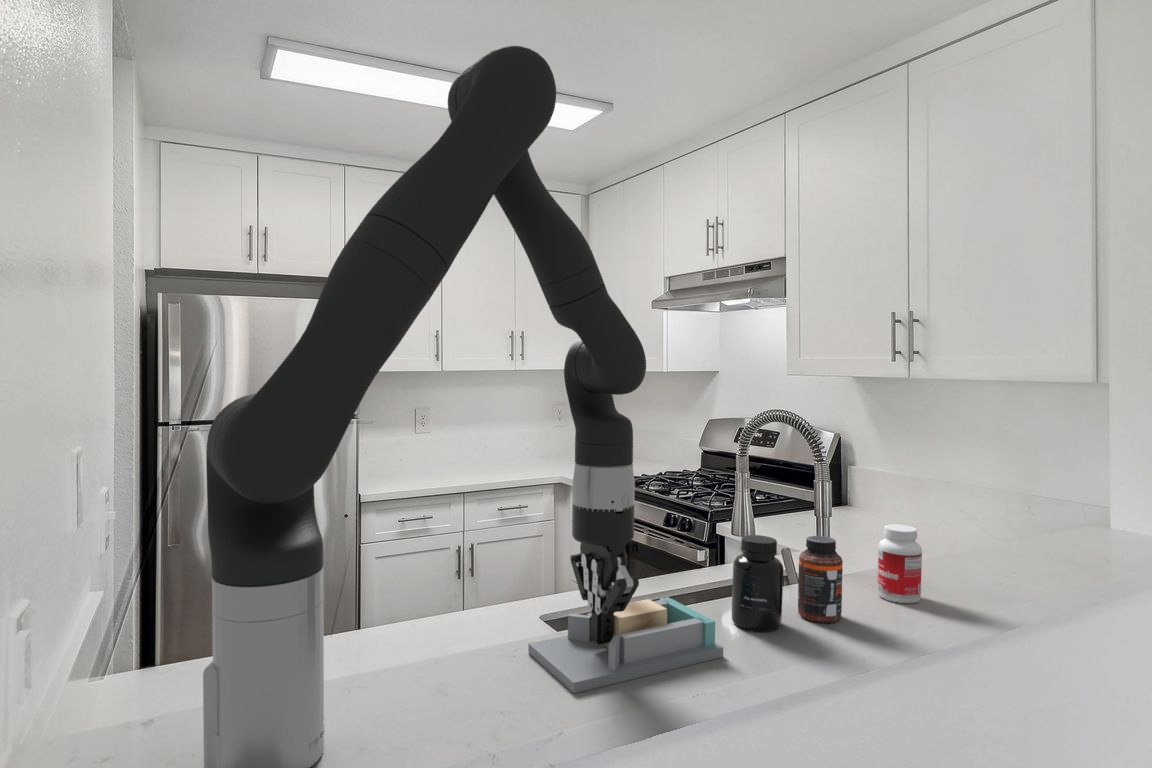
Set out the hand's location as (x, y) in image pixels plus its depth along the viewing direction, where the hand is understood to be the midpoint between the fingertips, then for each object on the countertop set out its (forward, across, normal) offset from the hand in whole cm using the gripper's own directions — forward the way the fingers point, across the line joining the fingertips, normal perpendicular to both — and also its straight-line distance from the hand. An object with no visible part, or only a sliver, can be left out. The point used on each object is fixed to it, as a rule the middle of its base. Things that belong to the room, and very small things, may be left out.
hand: (602, 641), depth 85 cm
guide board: (+2, 0, +3) cm, 4 cm away
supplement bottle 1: (+3, 0, +25) cm, 25 cm away
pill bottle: (+3, +2, +53) cm, 53 cm away
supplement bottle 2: (+3, +2, +35) cm, 35 cm away
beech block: (+1, 0, +5) cm, 5 cm away
